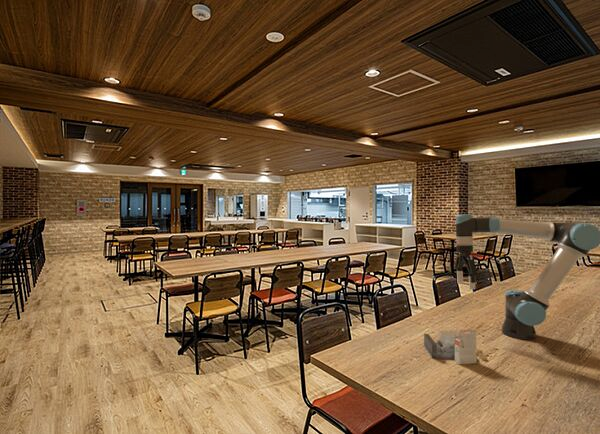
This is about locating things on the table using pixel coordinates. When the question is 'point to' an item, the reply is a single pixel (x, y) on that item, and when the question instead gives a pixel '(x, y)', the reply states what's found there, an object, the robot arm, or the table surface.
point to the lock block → (448, 340)
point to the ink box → (466, 347)
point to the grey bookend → (436, 349)
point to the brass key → (481, 355)
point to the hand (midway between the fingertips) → (466, 286)
